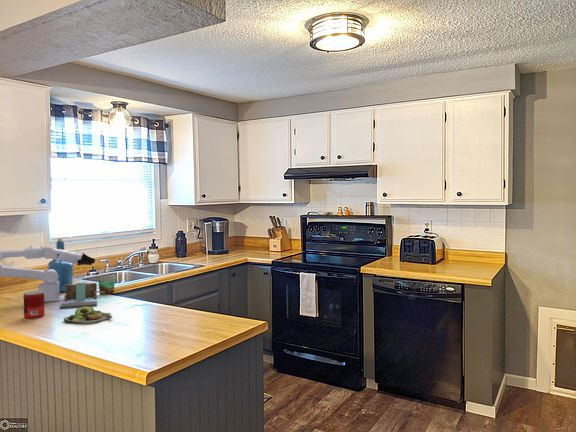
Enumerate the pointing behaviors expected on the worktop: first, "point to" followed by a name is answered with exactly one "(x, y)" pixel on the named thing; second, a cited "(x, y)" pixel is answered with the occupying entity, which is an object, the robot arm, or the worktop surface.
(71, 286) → the brown banded box
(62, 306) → the rubber mat
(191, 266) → the worktop surface
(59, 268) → the wine bottle
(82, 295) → the pale green block
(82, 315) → the salad plate
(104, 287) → the food container
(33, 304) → the canned food
